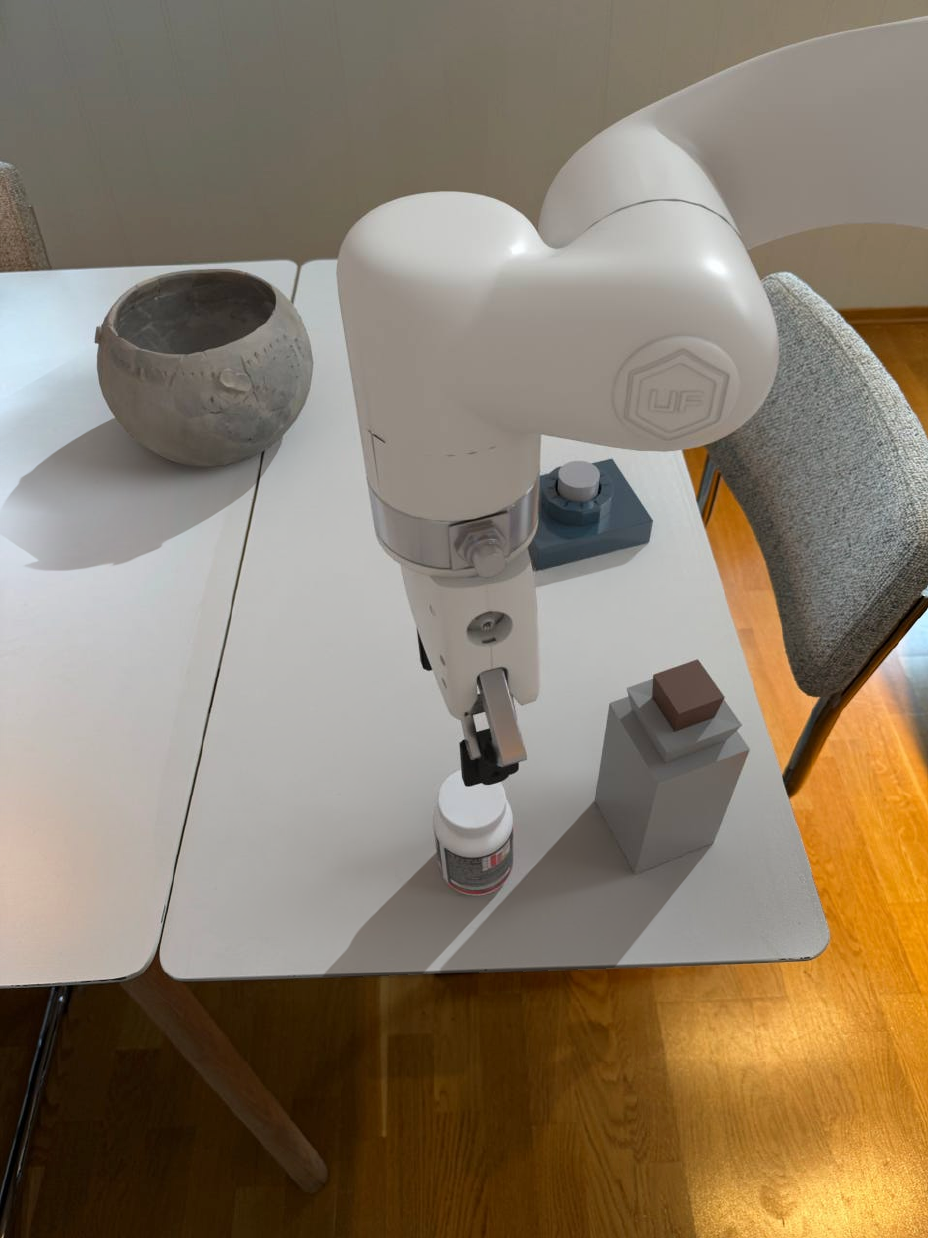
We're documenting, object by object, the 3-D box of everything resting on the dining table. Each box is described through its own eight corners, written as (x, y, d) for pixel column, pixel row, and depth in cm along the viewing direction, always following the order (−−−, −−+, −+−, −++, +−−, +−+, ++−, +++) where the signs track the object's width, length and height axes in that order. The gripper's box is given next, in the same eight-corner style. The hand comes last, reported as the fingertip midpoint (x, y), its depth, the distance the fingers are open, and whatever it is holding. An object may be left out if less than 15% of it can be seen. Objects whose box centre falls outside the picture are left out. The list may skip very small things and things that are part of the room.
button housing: (609, 479, 96) (614, 442, 92) (649, 542, 90) (656, 505, 86) (503, 505, 94) (503, 468, 90) (537, 571, 88) (538, 534, 84)
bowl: (364, 408, 106) (347, 290, 94) (222, 518, 94) (183, 399, 83) (228, 346, 115) (198, 232, 104) (84, 439, 104) (32, 323, 92)
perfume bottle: (594, 800, 72) (615, 662, 58) (669, 772, 73) (707, 631, 59) (634, 874, 67) (667, 745, 54) (713, 843, 69) (765, 709, 55)
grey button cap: (588, 472, 90) (590, 456, 89) (604, 498, 88) (606, 482, 86) (551, 481, 89) (552, 465, 88) (566, 507, 87) (567, 491, 85)
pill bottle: (528, 864, 68) (531, 799, 61) (473, 914, 66) (469, 853, 58) (477, 814, 71) (474, 747, 64) (423, 860, 69) (412, 796, 61)
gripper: (611, 614, 35) (581, 824, 49) (475, 370, 46) (481, 597, 59) (427, 664, 34) (449, 865, 47) (331, 400, 45) (371, 625, 58)
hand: (467, 715), depth 53 cm, fingers open, 8 cm apart
